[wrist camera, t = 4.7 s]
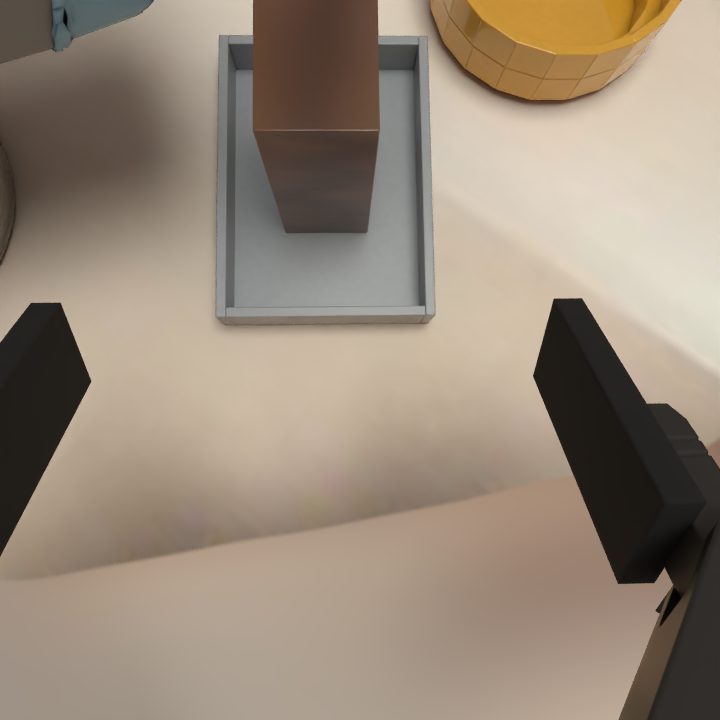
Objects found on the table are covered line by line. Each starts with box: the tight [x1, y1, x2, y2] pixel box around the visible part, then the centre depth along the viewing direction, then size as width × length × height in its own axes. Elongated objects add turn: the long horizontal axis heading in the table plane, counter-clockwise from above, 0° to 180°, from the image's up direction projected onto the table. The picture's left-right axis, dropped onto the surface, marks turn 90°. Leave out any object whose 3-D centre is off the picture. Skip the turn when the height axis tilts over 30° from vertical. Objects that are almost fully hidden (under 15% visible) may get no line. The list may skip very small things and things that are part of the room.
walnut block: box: [253, 0, 380, 233], centre depth 25 cm, size 4×6×11 cm
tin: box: [216, 35, 435, 325], centre depth 30 cm, size 11×15×2 cm
